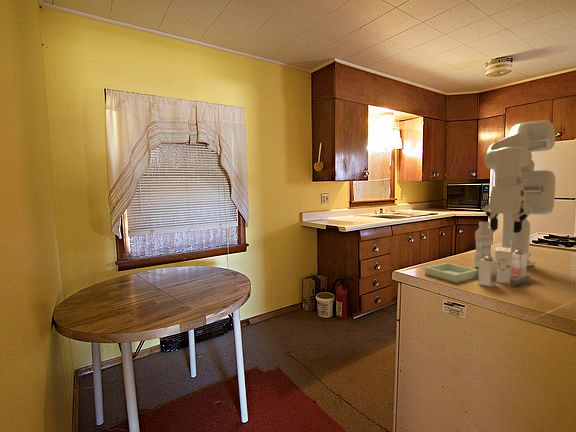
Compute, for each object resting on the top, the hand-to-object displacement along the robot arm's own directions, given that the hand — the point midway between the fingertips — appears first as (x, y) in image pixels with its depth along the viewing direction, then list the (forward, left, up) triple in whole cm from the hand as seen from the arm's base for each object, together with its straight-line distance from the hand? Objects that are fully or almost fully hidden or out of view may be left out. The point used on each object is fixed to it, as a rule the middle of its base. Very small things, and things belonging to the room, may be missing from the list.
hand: (505, 230), depth 109 cm
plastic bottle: (-10, -13, -19) cm, 25 cm away
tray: (+11, -13, -19) cm, 25 cm away
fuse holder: (0, 0, -19) cm, 19 cm away
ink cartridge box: (0, 0, -19) cm, 19 cm away
